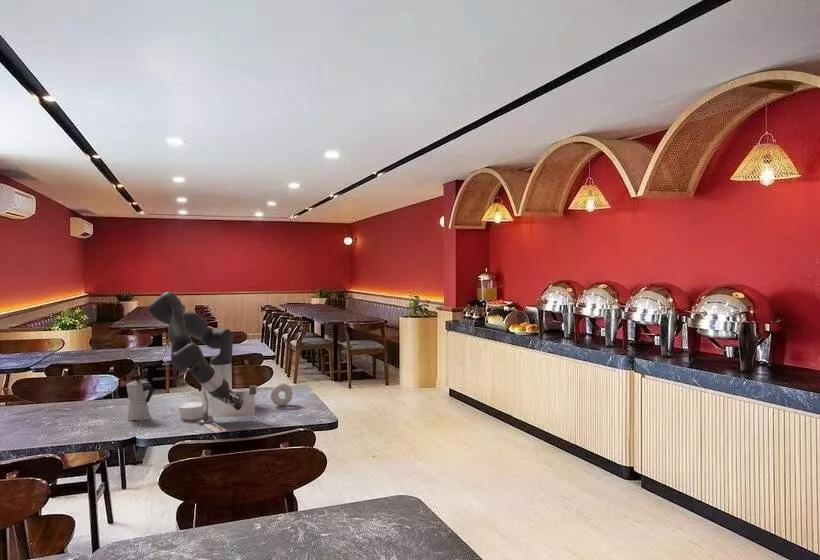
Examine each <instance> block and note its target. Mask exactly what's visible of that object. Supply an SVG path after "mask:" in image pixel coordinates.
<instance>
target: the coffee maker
mask: <svg viewBox="0 0 820 560" xmlns="http://www.w3.org/2000/svg"><path fill="white" fill-rule="evenodd" d="M141 376H142V375H141V374H134V381H131V382H129V383H126V384H125V385H126V391H127V396H128V400H129V407H128V412H127V413H128V414H127V420H128V419H129V420H128V421H130V420H138V421H142V420H141V419H144V418H148V417H149V416H150V409H149V404H148V403H149V402H150V401H151V398H152V397H153V396H152V395H153V393H154V391H155V389H154V387H153V385H152V384H151V383H150V382H149V381H148V380H147V381H146V380H141ZM149 418H150V417H149ZM149 418H148V419H149ZM144 420H145V419H144Z"/></svg>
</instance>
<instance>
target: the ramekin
mask: <svg viewBox="0 0 820 560" xmlns="http://www.w3.org/2000/svg"><path fill="white" fill-rule="evenodd" d="M177 409H178V411H179V415H180V419H182V420H184V419H187V420H186V421H194V419H195V420H200V419H202V401H190V402H186V403H181V404H179V405H178V408H177Z"/></svg>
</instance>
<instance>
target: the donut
mask: <svg viewBox="0 0 820 560" xmlns="http://www.w3.org/2000/svg"><path fill="white" fill-rule="evenodd" d="M281 392H284V396H283V397H280V393H281ZM293 394H294V393H293V389H292V387H291V386H290V385H289V384H287V383H278V384H276V385H275V386H274V387H273V388H272V390H271V392H270V398H271V401H272V403H273V404H274V405H275V406H278V407H284V406H286V405H288V404H289V403H290V402H291V401H292V399H293Z"/></svg>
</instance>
